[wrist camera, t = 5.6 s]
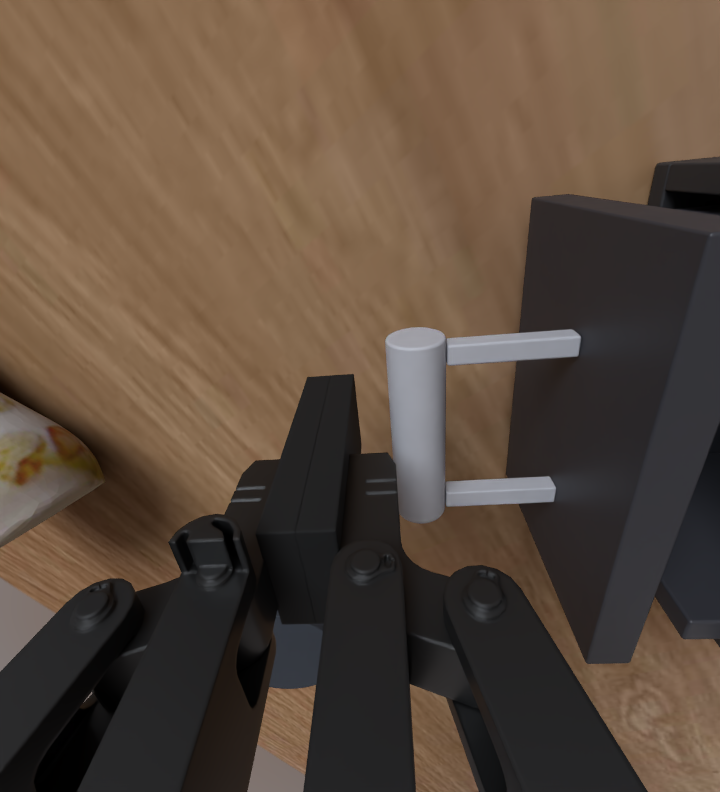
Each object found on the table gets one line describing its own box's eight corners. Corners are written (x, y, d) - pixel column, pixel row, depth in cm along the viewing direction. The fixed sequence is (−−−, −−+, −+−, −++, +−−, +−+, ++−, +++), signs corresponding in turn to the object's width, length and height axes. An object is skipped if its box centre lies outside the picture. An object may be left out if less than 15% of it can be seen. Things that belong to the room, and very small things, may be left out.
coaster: (236, 680, 30) (233, 689, 29) (205, 609, 26) (202, 618, 25) (347, 678, 29) (347, 688, 29) (333, 605, 25) (333, 615, 25)
